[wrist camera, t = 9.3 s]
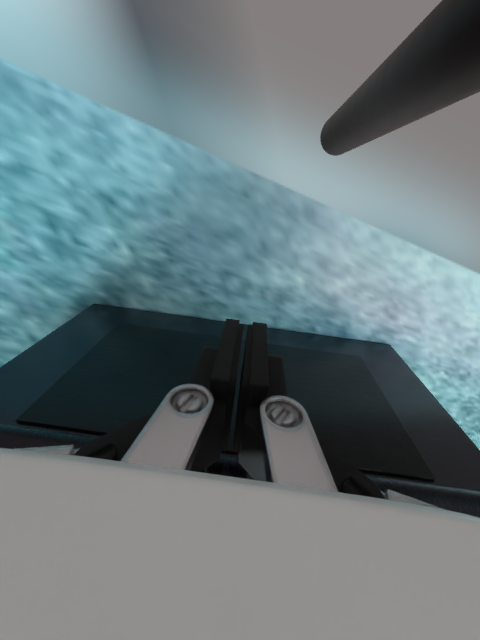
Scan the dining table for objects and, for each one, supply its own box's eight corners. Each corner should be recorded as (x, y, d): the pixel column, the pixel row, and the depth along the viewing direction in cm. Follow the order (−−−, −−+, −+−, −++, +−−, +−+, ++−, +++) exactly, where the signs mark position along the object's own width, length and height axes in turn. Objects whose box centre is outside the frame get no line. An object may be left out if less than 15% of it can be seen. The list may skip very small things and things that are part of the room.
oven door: (90, 275, 29) (-309, 474, 9) (401, 318, 29) (743, 625, 8) (95, 316, 31) (-215, 552, 11) (385, 356, 31) (627, 674, 11)
